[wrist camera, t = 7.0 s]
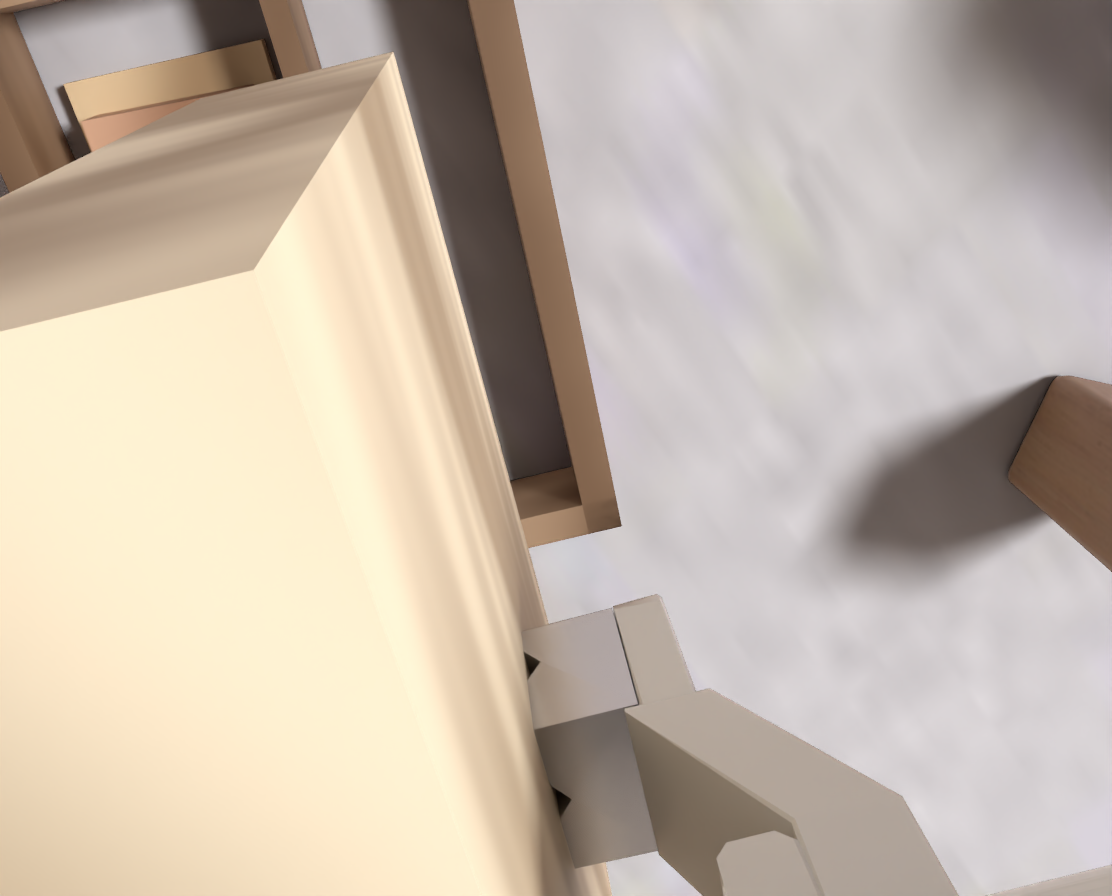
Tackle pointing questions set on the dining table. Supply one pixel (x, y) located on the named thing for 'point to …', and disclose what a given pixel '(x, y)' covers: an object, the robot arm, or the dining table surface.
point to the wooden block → (1071, 462)
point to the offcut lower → (171, 80)
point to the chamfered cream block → (259, 524)
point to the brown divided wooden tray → (585, 488)
